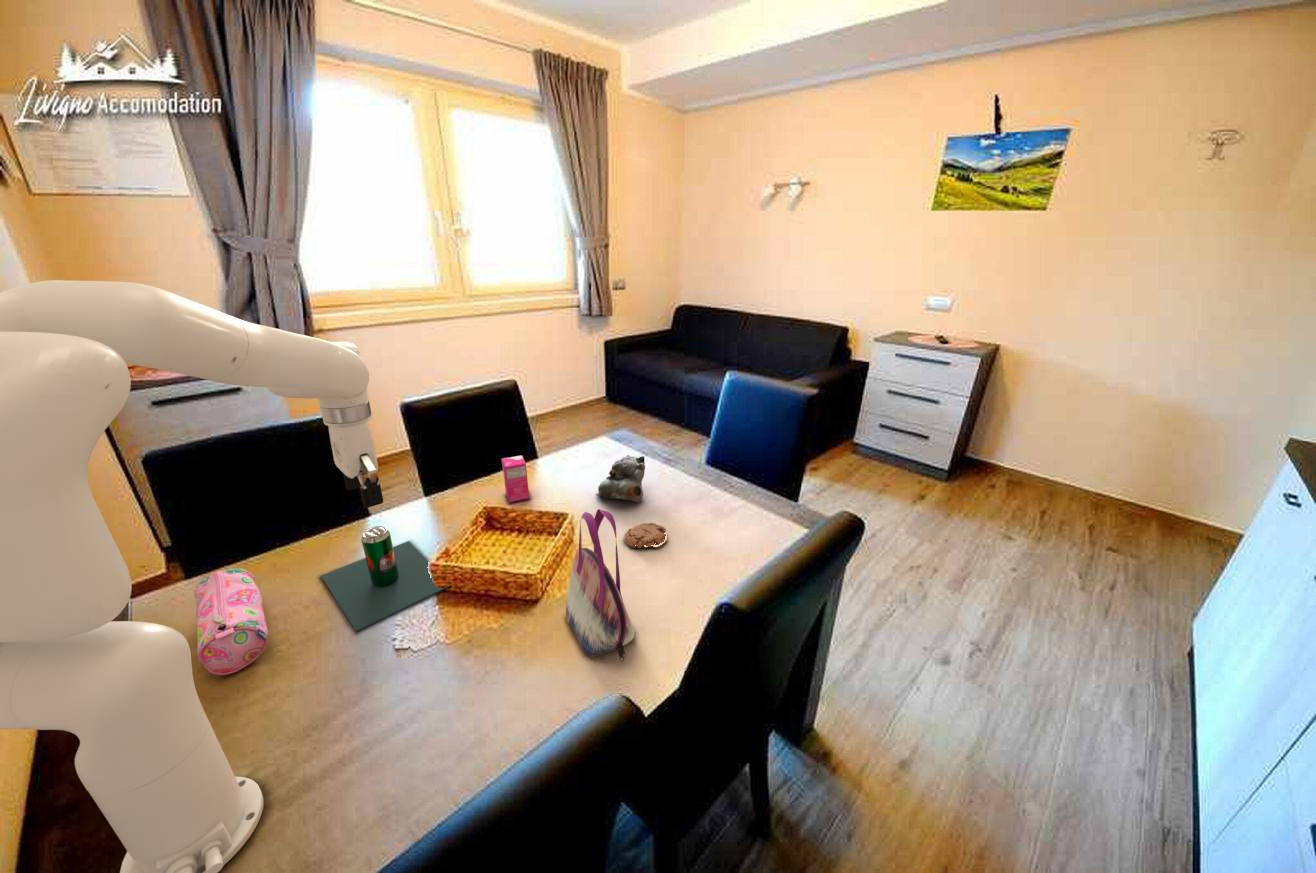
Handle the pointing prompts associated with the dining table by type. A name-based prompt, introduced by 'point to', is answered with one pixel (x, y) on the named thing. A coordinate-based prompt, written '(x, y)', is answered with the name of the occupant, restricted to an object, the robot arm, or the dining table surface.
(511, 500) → the supplement box
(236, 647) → the pencil case
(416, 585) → the place mat
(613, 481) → the lucky cat figurine
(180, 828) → the robot arm
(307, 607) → the dining table surface
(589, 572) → the handbag
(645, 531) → the cookie
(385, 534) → the soda can
